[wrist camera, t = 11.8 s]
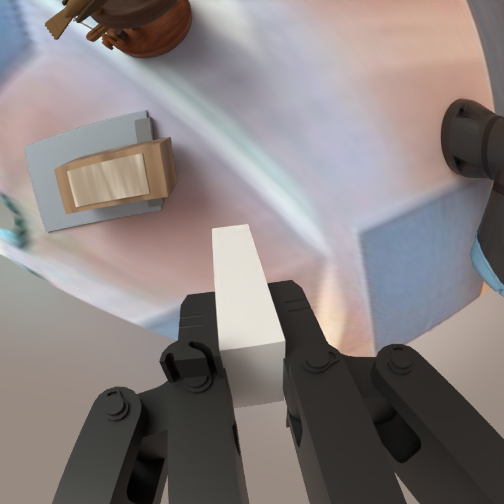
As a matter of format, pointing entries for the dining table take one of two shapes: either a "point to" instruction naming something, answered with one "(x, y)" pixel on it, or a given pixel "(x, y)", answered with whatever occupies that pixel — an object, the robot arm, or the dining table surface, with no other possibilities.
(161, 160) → the brown rectangular block
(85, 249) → the dining table surface
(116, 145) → the mat
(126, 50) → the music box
